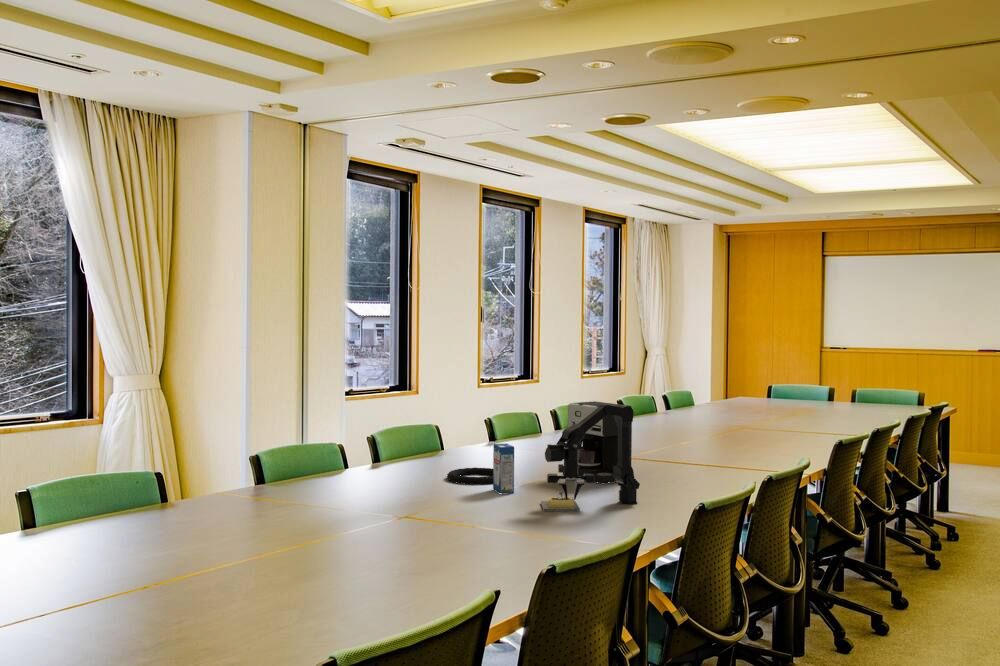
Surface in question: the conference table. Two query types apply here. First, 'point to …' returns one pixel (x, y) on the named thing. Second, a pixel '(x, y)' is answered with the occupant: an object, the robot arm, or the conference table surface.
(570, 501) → the yellow rectangular frame
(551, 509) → the keeper plate
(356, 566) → the conference table surface
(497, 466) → the milk carton
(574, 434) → the robot arm
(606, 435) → the coffee maker
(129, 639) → the conference table surface
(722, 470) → the conference table surface
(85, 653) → the conference table surface
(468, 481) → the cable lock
